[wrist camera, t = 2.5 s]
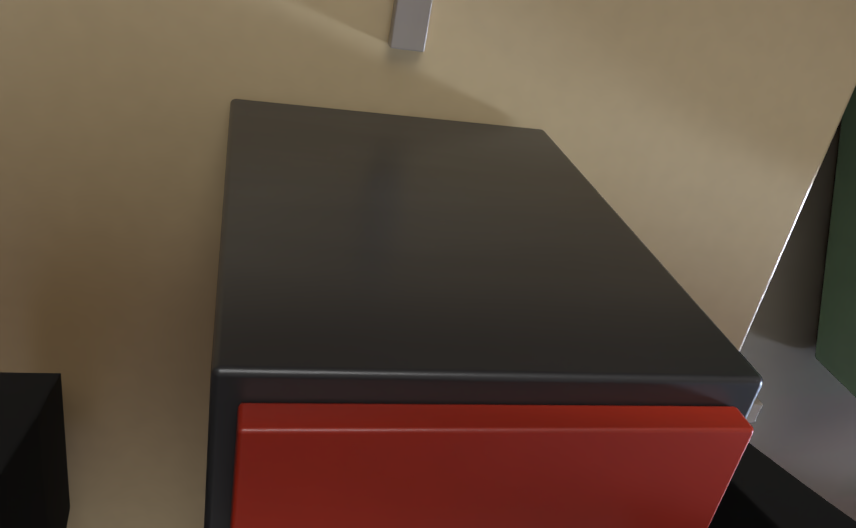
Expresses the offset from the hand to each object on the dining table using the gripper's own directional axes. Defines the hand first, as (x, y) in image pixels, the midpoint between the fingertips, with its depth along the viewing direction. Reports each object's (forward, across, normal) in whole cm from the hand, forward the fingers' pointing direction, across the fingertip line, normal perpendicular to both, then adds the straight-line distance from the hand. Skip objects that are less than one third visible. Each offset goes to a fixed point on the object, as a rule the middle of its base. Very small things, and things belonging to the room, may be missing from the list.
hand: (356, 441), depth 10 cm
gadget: (+1, 0, 0) cm, 1 cm away
